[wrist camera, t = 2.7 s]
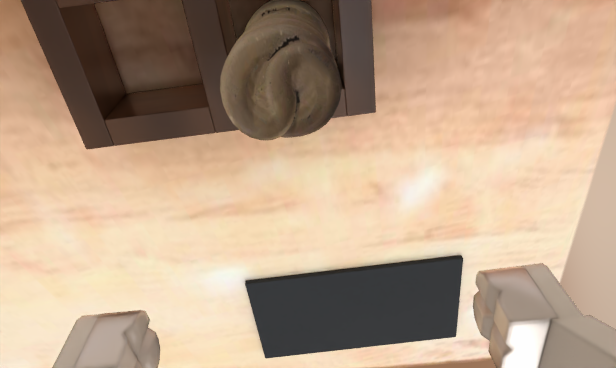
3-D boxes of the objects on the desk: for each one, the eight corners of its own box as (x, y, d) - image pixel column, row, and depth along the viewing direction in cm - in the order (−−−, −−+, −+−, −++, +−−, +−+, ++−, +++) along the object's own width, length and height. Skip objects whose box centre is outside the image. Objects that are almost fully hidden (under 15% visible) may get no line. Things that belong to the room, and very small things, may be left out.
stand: (110, 120, 35) (86, 149, 31) (49, -35, 29) (9, -24, 25) (364, 87, 35) (375, 112, 30) (356, -78, 29) (368, -75, 24)
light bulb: (253, 66, 33) (232, 165, 21) (236, -11, 30) (200, 49, 18) (327, 54, 33) (352, 147, 20) (317, -25, 30) (338, 25, 18)
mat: (265, 354, 52) (265, 358, 51) (245, 280, 45) (245, 284, 45) (454, 333, 51) (456, 336, 50) (461, 255, 44) (463, 258, 44)
